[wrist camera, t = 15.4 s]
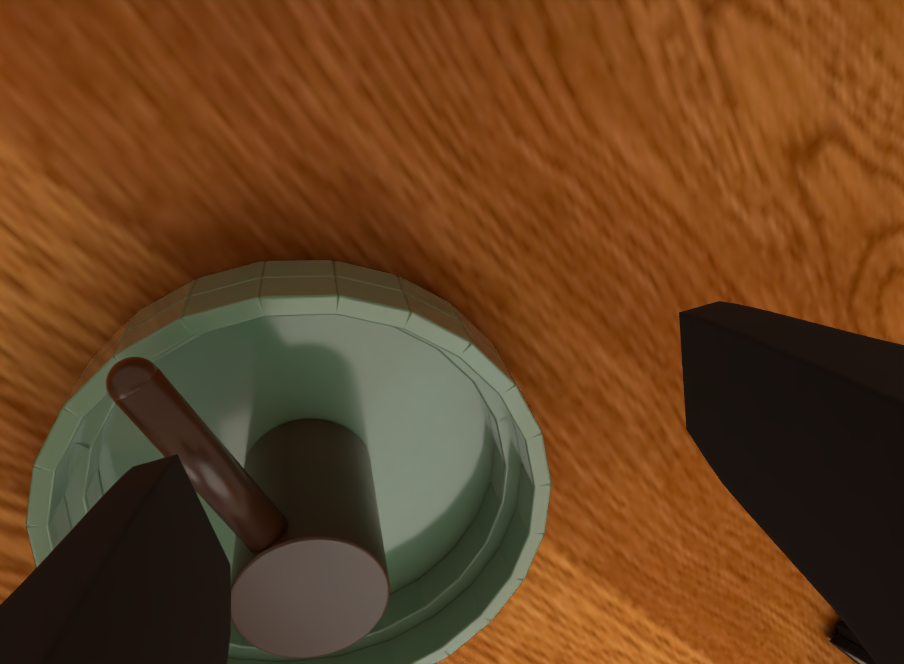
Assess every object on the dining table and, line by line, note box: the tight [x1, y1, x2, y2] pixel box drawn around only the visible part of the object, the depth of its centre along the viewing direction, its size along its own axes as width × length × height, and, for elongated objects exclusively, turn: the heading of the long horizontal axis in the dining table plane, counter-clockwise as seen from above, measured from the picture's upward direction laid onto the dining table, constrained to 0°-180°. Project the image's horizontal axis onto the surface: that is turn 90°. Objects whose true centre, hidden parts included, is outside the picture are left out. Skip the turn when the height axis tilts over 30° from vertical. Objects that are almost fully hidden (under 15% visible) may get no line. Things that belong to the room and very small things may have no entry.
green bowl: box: [26, 260, 551, 664], centre depth 19 cm, size 13×13×3 cm
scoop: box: [106, 357, 390, 658], centre depth 17 cm, size 4×9×5 cm, turn 27°
